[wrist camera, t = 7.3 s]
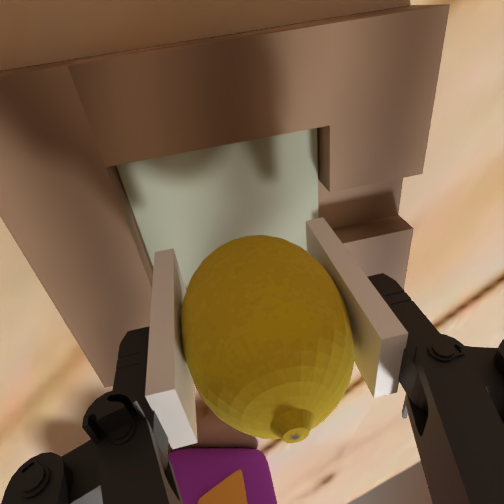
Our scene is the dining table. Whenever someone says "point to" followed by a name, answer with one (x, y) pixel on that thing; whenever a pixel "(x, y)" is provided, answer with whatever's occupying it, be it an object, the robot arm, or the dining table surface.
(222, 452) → the toy camera
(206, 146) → the pocket board
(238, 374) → the lemon
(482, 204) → the dining table surface
